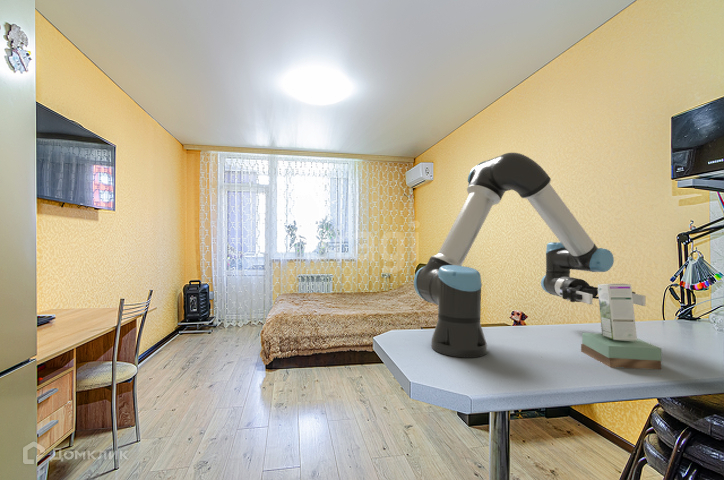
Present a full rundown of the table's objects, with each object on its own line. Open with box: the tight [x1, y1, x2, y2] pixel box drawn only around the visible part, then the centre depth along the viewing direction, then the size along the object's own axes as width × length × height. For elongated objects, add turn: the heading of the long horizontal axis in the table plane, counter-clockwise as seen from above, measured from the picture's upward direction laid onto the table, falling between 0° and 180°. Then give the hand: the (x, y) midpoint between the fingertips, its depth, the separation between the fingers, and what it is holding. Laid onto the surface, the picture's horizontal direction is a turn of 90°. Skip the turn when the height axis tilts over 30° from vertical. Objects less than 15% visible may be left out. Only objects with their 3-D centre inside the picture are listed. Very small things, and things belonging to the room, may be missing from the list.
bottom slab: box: [580, 343, 662, 370], centre depth 88 cm, size 12×12×3 cm
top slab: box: [581, 332, 662, 362], centre depth 88 cm, size 12×12×3 cm
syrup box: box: [597, 283, 638, 341], centre depth 88 cm, size 6×6×14 cm
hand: (617, 300), depth 89 cm, fingers open, 13 cm apart
